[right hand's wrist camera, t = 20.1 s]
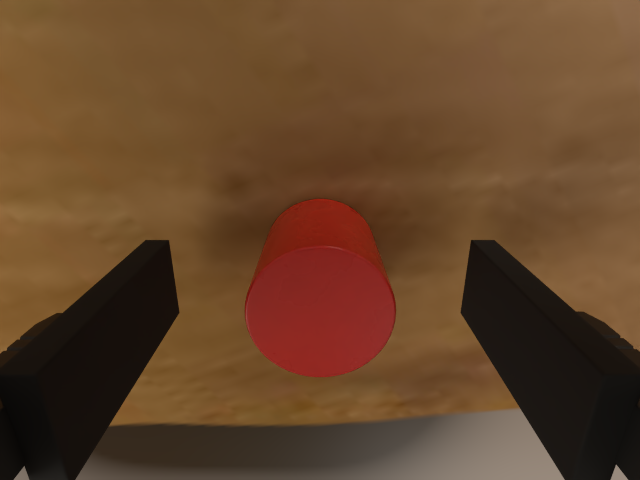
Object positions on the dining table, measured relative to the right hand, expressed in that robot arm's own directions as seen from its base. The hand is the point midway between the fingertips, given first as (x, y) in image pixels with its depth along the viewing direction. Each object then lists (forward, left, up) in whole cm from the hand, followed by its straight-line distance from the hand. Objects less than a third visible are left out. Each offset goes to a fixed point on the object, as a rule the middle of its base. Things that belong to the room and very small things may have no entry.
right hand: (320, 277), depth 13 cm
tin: (0, 0, -2) cm, 2 cm away
